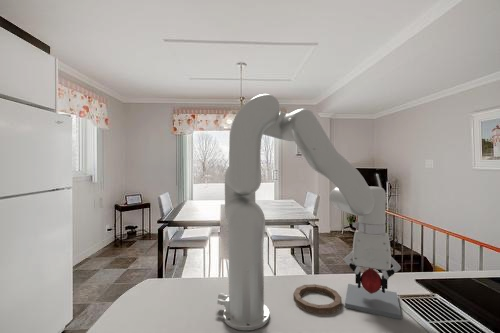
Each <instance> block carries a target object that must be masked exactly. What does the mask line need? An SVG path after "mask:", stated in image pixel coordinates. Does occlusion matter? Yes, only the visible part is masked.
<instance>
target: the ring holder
mask: <svg viewBox="0 0 500 333" xmlns="http://www.w3.org/2000/svg"><path fill="white" fill-rule="evenodd" d="M314 292H315V293H321V294H325V295H327V296H329V297H331V298H332V299H333V301H332V302H330V303H328V304H316V303H311V302H308V301H307V300H305V299H303V298H302V297H301V296H302V295H304V294H305V293H314ZM292 294H293V295H292V297H293V300H294V302H295V305H296V306H298V307H299V308H301V309H302V310H304V311H305V312H310V313H314V314H318V315H324V314H326V315H327V314H333V313H335V312H337V311H339V310H341V306H342V296H341V294H340V293H339V292H337V290H334V289H333V288H331V287H328V286H327V285H321V284H315V283H313V284H303V285H301V286H298V287H296V288H295V290H294V291H293V293H292Z"/></svg>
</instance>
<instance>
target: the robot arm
mask: <svg viewBox="0 0 500 333" xmlns="http://www.w3.org/2000/svg"><path fill="white" fill-rule="evenodd" d="M263 136H267V137H272V138H275V139H278V140H283V141H287V142H295V144H296V146H297V147H298V149H299V151H300V153H301V154H302V156H303V157H304V159H305V160H306V162H307V163H308V165H309V167H311V168H312V169H313V170H314V171H315V172H316V173H318V174H319V175H322V176H323V177H325V178H326V179H327V180H329V181H330V182H331V183H332V184H333V185H334V186H335V187H334V188H333V189H332V190H331V191H330V193H329V197H328V198H329V200H328V201H329V202H330V205H331V206H332V207H334V208H335V209H337V210H338V211H342V212H343V213H348V214H351V215H353V216H356V217H357V221H355V222H352V228H355V229H357V230H355V231H354V234H353V242H352V251H351V252H350V253H348V254H347V255H346V256H345V257H344V258H343V262H345V264H346V265H347V266H349V268H350V269H351V270H352V271H353V272H354V274H355V285H358V288H361V286H362V284H361V275H362V273H361V269H362V268H366V269H369V268H371V269H373V270H377V271H378V270H379V271H381V273H382V274H381V279H382V286H381V290H382V292H383V293H385V290H387V289H388V281H389V278H391V277H392V276H393V275H395V273H397V272H399V271H400V270H401V269H402V267H401V265H400V264H399V263H398V261H396V260H395V258H394V257H392V255H391V253H392V252H391V242H390V237H389V234H388V233H387V232H386V200H387V198H386V190H385V189H384V188H383V187H380V186H372V185H371V186H369V185H368V183H367V181H366V180H365V178H364V176H363V175H362V174H361V172H360V171H359V170H358V169H357V168H356V167H355V166H354V165H353V164H351V163H350V162H349V161H348V160H347V159H346V158H345V157H344V156H343V155H342V154H341V153H339V152H338V151H337V149H336V148H335V146H334V145H333V143H332V141H331V139H330V138H329V136H328V135H327V133H326V131H325V129H324V127H323V126H322V125H321V123H320V121H319V120H318V118H317V116H316V114H315V113H314V112H313V111H311V110H310V109H308V108H299V109H296V110H294V111H292V112H290V113H287V112H284V111H281V105H280V102H279V100H278V99H277V97H276V96H274V95H272V94H269V93H263V94H258V95H256V96H254V97H253V98H251V99H249V100H247V102H245V103H244V104H243V105H242V106H241V107H240V108H239V110H238V111H237V113H236V114H235V116H234V118H233V121H232V123H231V128H230V132H229V145H228V146H229V151H228V152H229V154H228V159H229V160H228V161H229V162H228V167H227V168H226V170H225V172H224V173H225V174H224V211H225V218H226V221H227V223H228V242H227V243H228V244H227V245H228V248H227V250H228V251H227V254H228V256H227V258H228V294H227V293H223V292H219V293H218V296H217V298H218V299H217V305H219V306H224V307H225V308H224V310H223V313H222V315H223V317H222V318H223V321H224V323H225V324H226V325H227V326H229V327H230V328H231V329H235V330H239V331H253V330H257V329H260V328H262V327H264V326H265V325H267V323H268V322H269V320H270V319H271V317H270V316H271V314H270V309H269V308H268V306H267V305H266V304H265V302H264V301H265V299H264V298H265V295H264V294H265V288H264V287H265V285H264V284H265V282H264V279H265V278H264V276H265V275H264V270H265V268H264V263H265V262H264V241H265V231H266V218H265V214H264V212H263V209H262V208H261V206H260V205H259V204H258V203H256V192H257V191H258V190H259V189H260V186H261V184H262V162H261V161H262V158H261V155H262V153H261V152H262V150H261V149H262V148H261V147H262V138H263ZM391 266H392V267H391Z"/></svg>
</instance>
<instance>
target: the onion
mask: <svg viewBox="0 0 500 333" xmlns="http://www.w3.org/2000/svg"><path fill="white" fill-rule="evenodd" d="M361 286H363V288H364V289H365V290H366V291H368V292H369V293H371V294H372V293H375V292H377V291H378V290H381V289H382V276H381V275H380V274H379V273H378V271H376V269H371V268H367V269H366V270H365V271H363V272H362V273H361Z"/></svg>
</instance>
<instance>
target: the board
mask: <svg viewBox="0 0 500 333" xmlns="http://www.w3.org/2000/svg"><path fill="white" fill-rule="evenodd" d="M344 307H345V309H350V310H357V311H360V312H364V313H370V314H375V315H378V316H383V317H387V318H393V319H396V320H397V319H398V320H402V311H401V308H400V303H399V298H398V294H397V292H395V291H392V290H391V291H390V290H387V289H385V293H383V292H382V289H380V290H378V291H377V292H375V293H372V294H371V293H369V292H368V291H366V290H365V289H364V288H363V286H362V285H361V288H358V284H351V283H348V284H347V289H346V295H345V302H344Z"/></svg>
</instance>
